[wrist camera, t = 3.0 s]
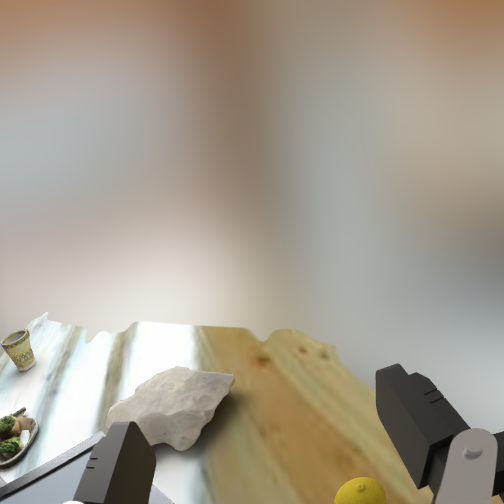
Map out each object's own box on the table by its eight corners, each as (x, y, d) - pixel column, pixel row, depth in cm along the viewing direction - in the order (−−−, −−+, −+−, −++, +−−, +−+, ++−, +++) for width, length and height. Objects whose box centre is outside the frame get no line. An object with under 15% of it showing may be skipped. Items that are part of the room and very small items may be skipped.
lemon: (359, 491, 29) (359, 457, 27) (392, 512, 25) (400, 480, 23) (325, 519, 27) (320, 489, 25) (358, 544, 22) (360, 518, 20)
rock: (91, 399, 50) (200, 336, 61) (111, 423, 53) (213, 362, 64) (112, 467, 34) (254, 381, 45) (138, 491, 37) (267, 410, 48)
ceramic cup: (31, 373, 72) (15, 343, 70) (10, 374, 72) (-5, 346, 70) (49, 351, 85) (36, 323, 82) (28, 354, 85) (15, 327, 82)
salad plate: (9, 410, 55) (0, 395, 54) (55, 417, 53) (45, 400, 52) (-30, 457, 37) (-42, 441, 35) (13, 476, 35) (-1, 459, 33)
